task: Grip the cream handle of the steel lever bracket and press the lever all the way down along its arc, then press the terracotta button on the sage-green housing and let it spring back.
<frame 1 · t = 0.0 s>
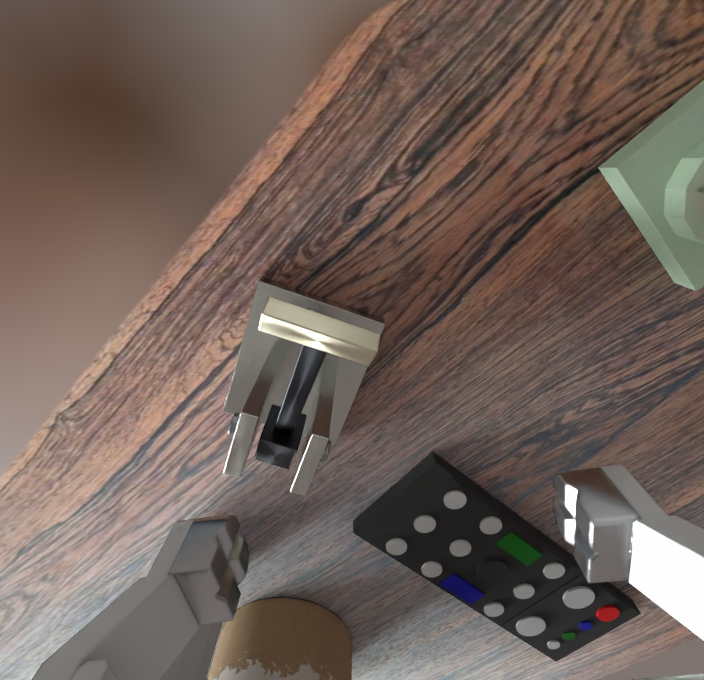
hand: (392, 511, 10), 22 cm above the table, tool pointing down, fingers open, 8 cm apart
lever: (295, 397, 21), point 12 cm above the table, hinge at 25.0°
vase: (287, 637, 48), on the table
water bottle: (204, 546, 42), on the table
remote control: (498, 560, 42), on the table
button box: (691, 187, 28), on the table
bracket: (302, 363, 34), on the table
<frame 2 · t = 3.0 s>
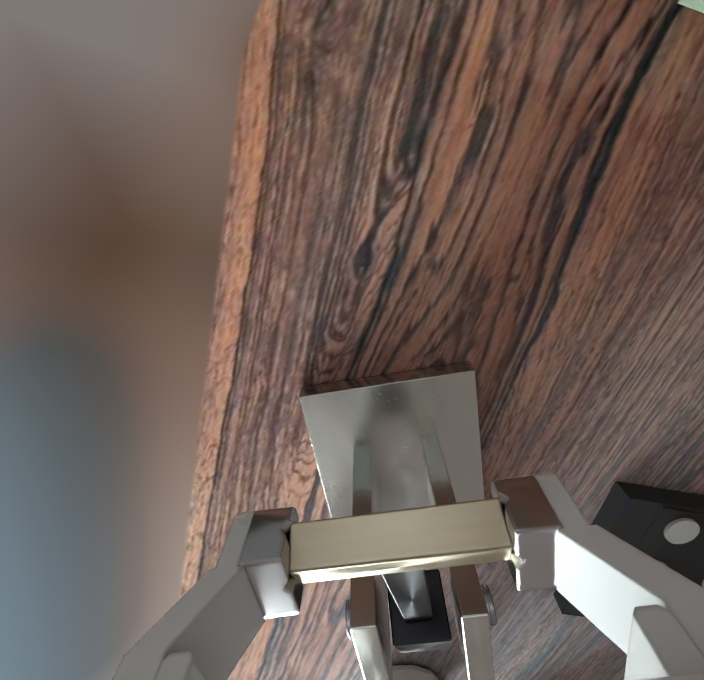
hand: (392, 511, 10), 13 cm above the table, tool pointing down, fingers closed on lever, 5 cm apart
lever: (411, 589, 14), point 12 cm above the table, hinge at 25.0°, touching gripper
water bottle: (396, 676, 36), on the table
bracket: (398, 455, 26), on the table
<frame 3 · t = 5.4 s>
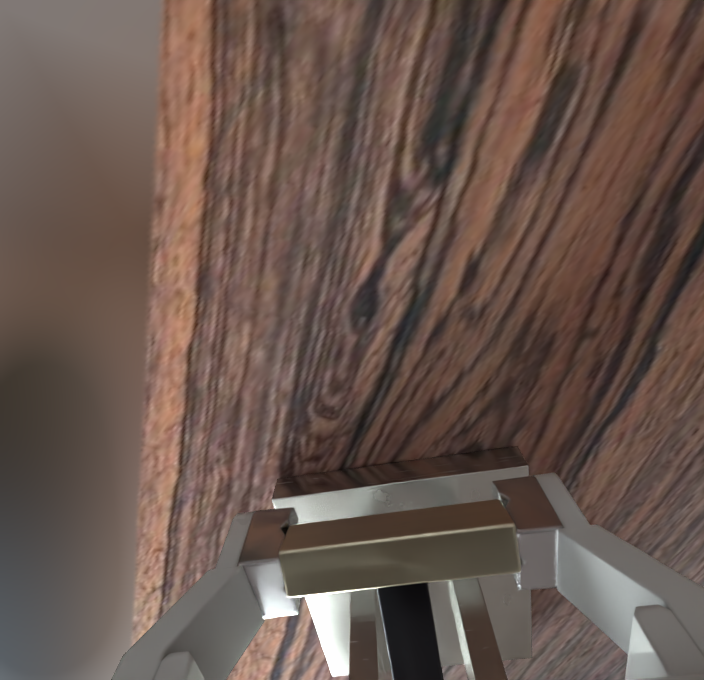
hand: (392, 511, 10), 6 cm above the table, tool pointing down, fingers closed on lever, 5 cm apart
bracket: (412, 563, 19), on the table
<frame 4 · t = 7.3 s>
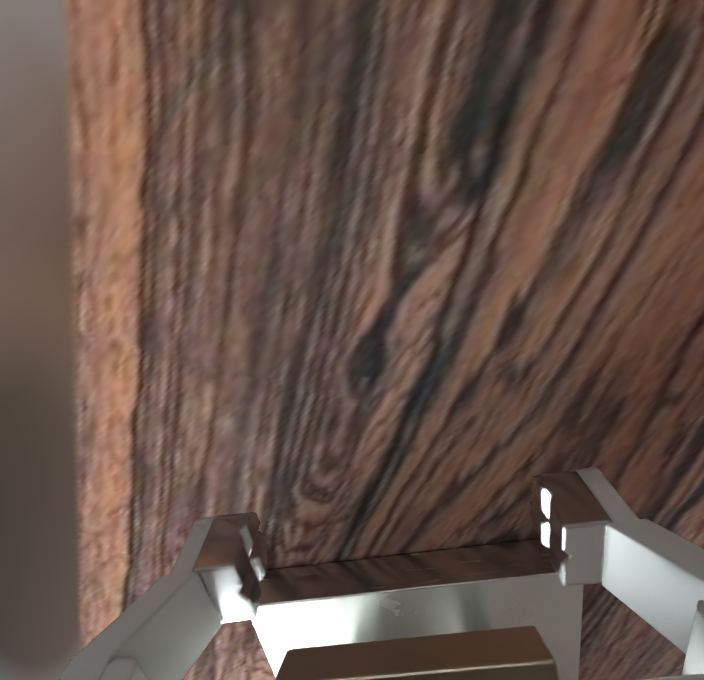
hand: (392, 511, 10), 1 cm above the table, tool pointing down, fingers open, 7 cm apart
bracket: (425, 666, 15), on the table
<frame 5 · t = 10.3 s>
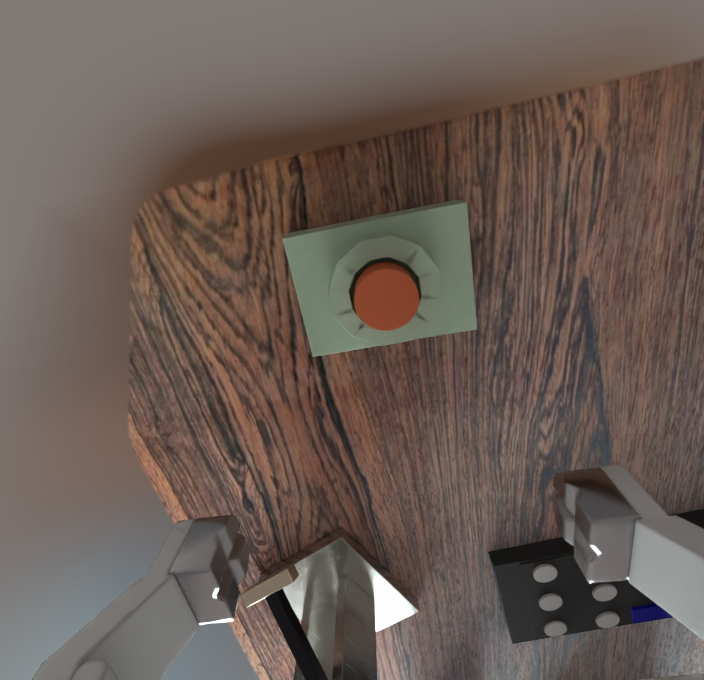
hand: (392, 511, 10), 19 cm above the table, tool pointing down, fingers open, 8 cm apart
lever: (303, 652, 31), point 8 cm above the table, hinge at -30.8°
remote control: (663, 559, 37), on the table
button box: (381, 276, 27), on the table
bracket: (340, 586, 39), on the table
button: (385, 296, 23), point 4 cm above the table, slide at 0.1 cm
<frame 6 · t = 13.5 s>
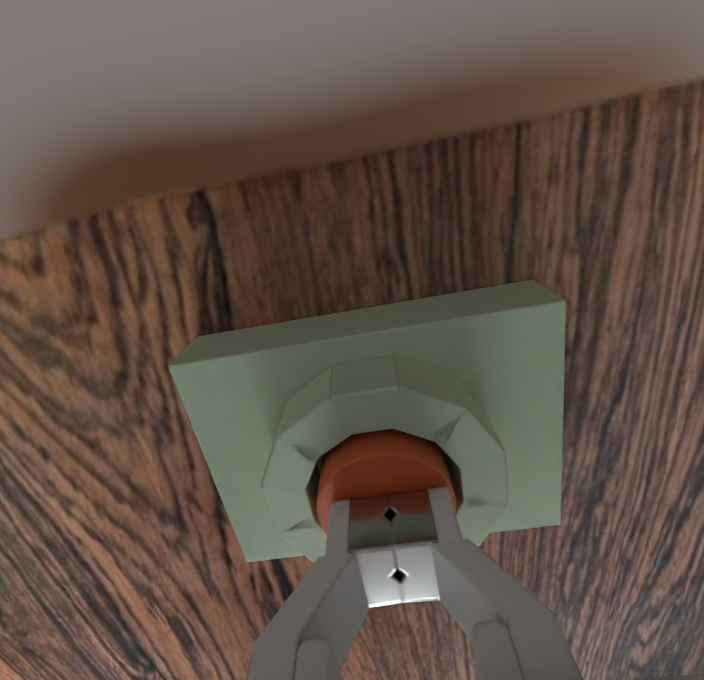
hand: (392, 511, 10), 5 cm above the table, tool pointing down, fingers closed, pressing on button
button box: (377, 412, 15), on the table
button: (384, 486, 11), point 4 cm above the table, slide at -0.7 cm, touching gripper
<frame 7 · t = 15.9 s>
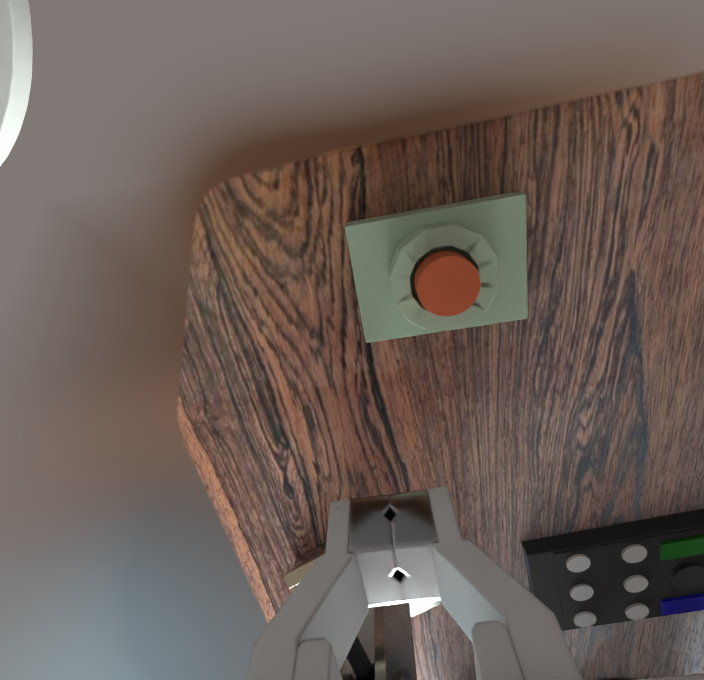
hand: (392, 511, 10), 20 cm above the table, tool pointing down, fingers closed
lever: (345, 633, 32), point 8 cm above the table, hinge at -30.8°
remote control: (693, 552, 38), on the table
button box: (434, 266, 28), on the table
bracket: (373, 573, 40), on the table
button: (446, 283, 24), point 4 cm above the table, slide at 0.1 cm
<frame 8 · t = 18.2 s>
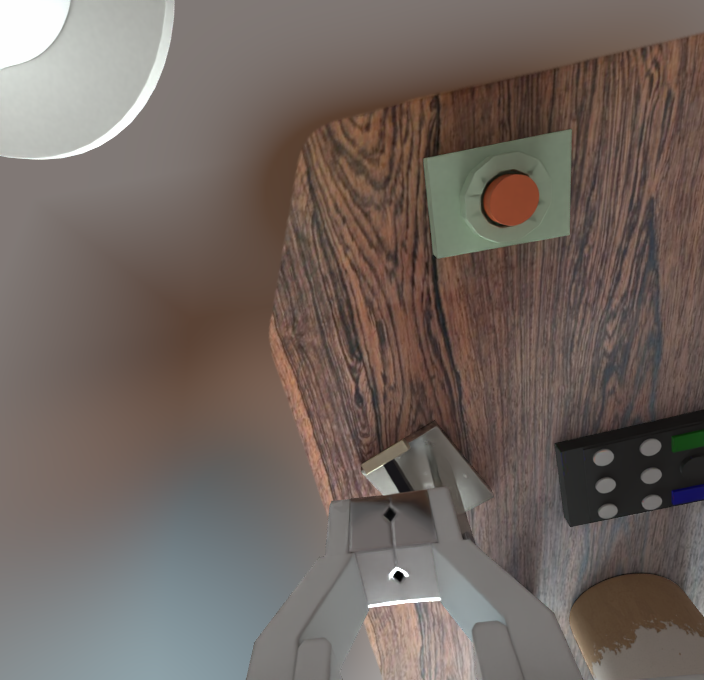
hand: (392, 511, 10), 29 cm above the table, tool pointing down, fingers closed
lever: (416, 507, 38), point 8 cm above the table, hinge at -30.8°
vase: (624, 609, 55), on the table
remote control: (698, 450, 45), on the table
button box: (492, 196, 35), on the table
bracket: (426, 477, 47), on the table
button: (510, 199, 31), point 4 cm above the table, slide at 0.1 cm
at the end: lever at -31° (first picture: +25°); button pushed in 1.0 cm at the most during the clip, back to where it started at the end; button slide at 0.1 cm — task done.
